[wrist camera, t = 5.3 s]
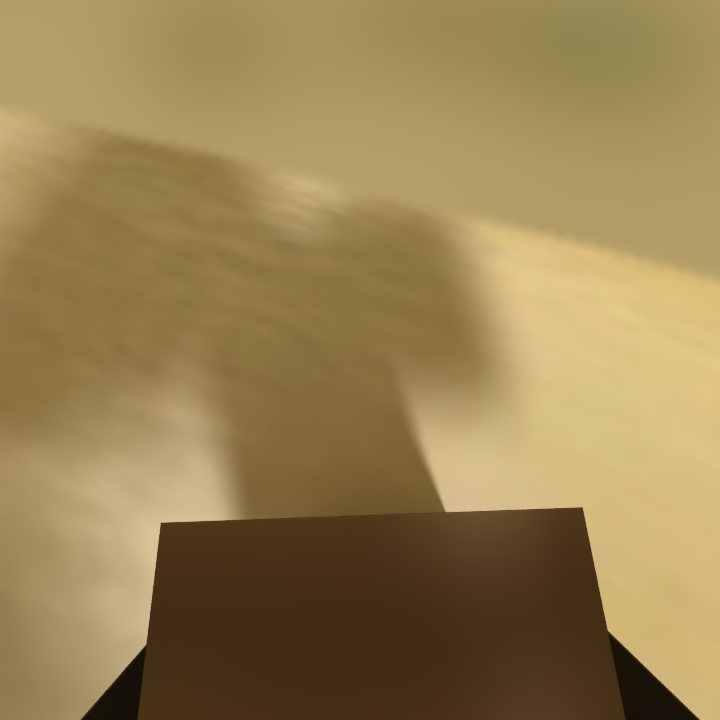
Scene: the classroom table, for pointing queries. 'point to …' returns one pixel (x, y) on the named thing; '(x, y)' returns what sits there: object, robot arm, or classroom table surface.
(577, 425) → the classroom table surface
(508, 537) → the walnut pillar
